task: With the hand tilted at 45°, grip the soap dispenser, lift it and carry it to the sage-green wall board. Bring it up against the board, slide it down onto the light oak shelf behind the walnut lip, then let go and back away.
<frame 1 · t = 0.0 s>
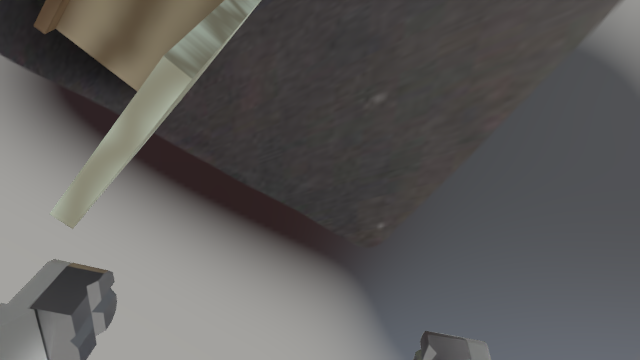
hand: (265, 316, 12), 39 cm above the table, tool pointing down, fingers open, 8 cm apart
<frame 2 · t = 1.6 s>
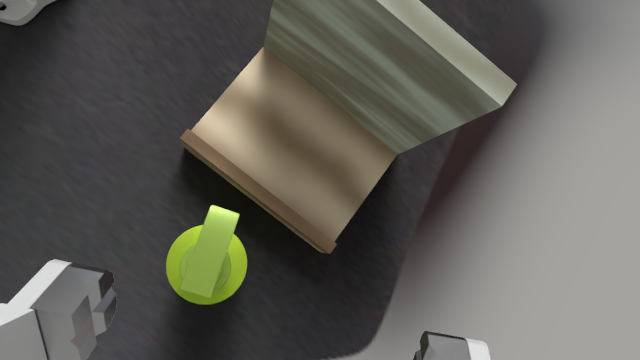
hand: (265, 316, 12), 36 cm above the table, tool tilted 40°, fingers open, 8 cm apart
wall board: (295, 146, 50), on the table
soap dispenser: (214, 250, 47), on the table
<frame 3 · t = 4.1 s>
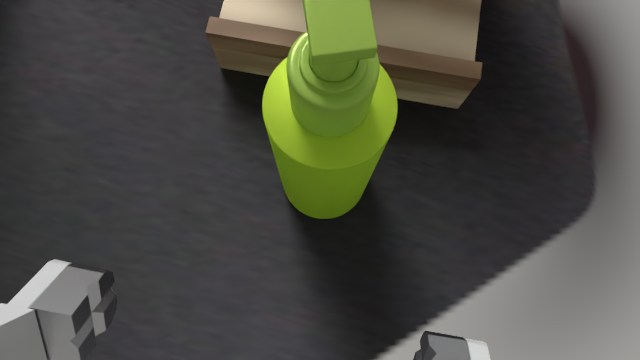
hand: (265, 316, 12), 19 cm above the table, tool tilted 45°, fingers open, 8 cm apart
wall board: (354, 1, 36), on the table
soap dispenser: (322, 171, 33), on the table
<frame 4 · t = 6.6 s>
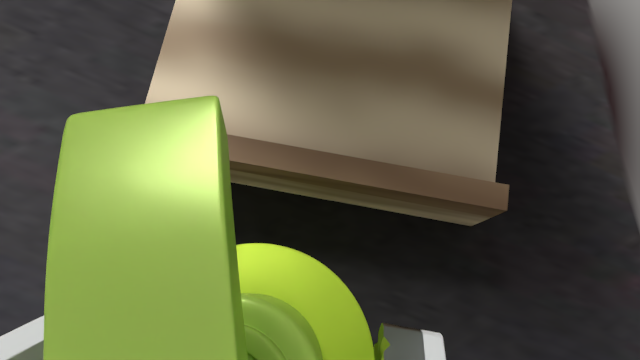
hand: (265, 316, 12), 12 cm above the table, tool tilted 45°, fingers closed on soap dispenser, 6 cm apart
wall board: (333, 74, 27), on the table
soap dispenser: (287, 317, 24), on the table, touching gripper
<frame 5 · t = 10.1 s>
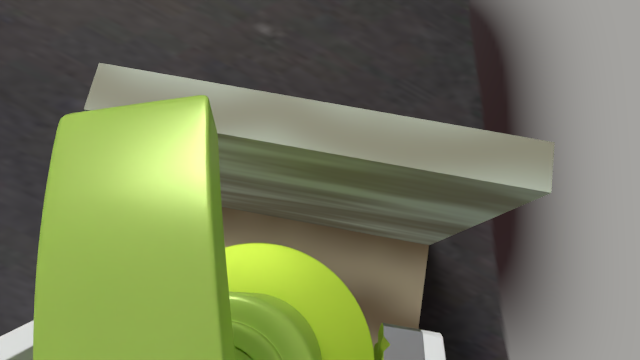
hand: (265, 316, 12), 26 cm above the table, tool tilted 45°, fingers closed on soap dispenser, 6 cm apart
wall board: (302, 295, 37), on the table
soap dispenser: (292, 317, 24), point 14 cm above the table, touching gripper
when the fingers open (17 cm above the table, at t = 13.6 s): soap dispenser drops 1 cm, resting on wall board.
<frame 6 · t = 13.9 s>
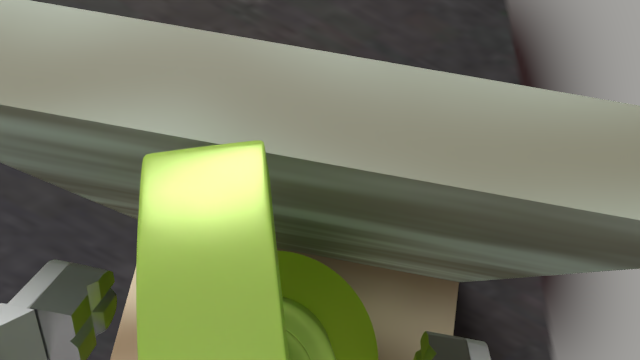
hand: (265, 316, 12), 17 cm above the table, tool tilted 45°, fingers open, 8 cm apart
wall board: (285, 347, 28), on the table
soap dispenser: (291, 315, 25), point 3 cm above the table, touching wall board
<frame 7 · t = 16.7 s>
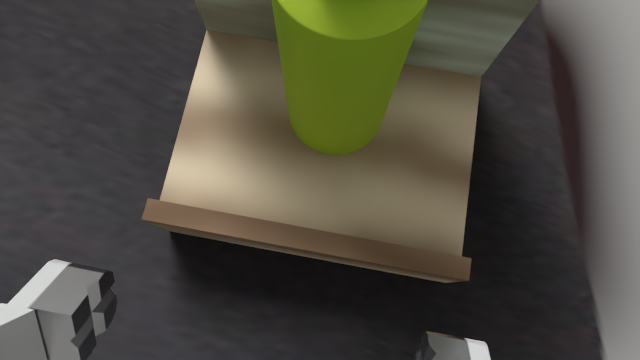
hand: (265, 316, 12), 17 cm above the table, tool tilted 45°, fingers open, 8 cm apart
wall board: (326, 147, 31), on the table
soap dispenser: (334, 104, 29), point 3 cm above the table, touching wall board
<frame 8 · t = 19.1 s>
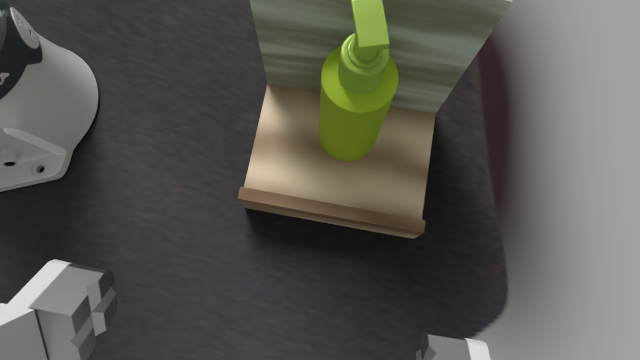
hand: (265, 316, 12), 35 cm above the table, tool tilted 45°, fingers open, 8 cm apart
wall board: (340, 156, 50), on the table
soap dispenser: (346, 130, 48), point 3 cm above the table, touching wall board
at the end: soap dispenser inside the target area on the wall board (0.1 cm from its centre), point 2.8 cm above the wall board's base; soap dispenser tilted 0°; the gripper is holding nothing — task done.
